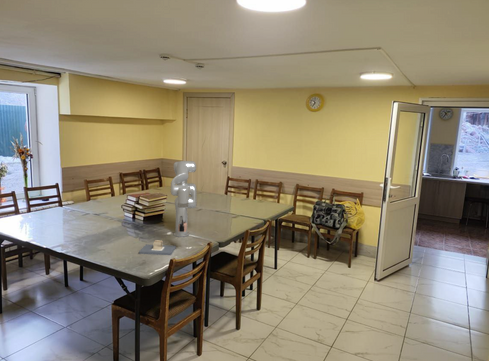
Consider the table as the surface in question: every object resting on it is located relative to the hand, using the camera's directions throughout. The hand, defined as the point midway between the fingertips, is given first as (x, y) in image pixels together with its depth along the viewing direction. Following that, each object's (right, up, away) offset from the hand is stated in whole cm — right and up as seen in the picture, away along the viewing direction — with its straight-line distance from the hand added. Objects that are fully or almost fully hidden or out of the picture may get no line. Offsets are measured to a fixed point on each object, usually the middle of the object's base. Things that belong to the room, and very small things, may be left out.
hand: (182, 229), depth 236 cm
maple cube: (-17, -13, 0) cm, 22 cm away
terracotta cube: (0, -1, 0) cm, 1 cm away
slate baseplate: (-17, -15, +1) cm, 23 cm away
